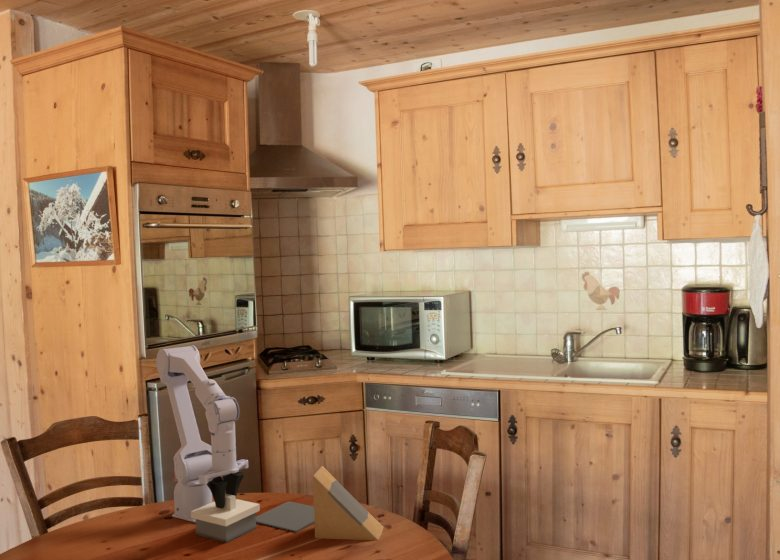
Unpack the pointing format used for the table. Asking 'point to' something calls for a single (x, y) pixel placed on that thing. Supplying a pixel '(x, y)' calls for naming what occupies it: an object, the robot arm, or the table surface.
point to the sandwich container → (340, 512)
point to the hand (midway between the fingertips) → (225, 505)
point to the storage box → (226, 529)
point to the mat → (288, 516)
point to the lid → (226, 511)
